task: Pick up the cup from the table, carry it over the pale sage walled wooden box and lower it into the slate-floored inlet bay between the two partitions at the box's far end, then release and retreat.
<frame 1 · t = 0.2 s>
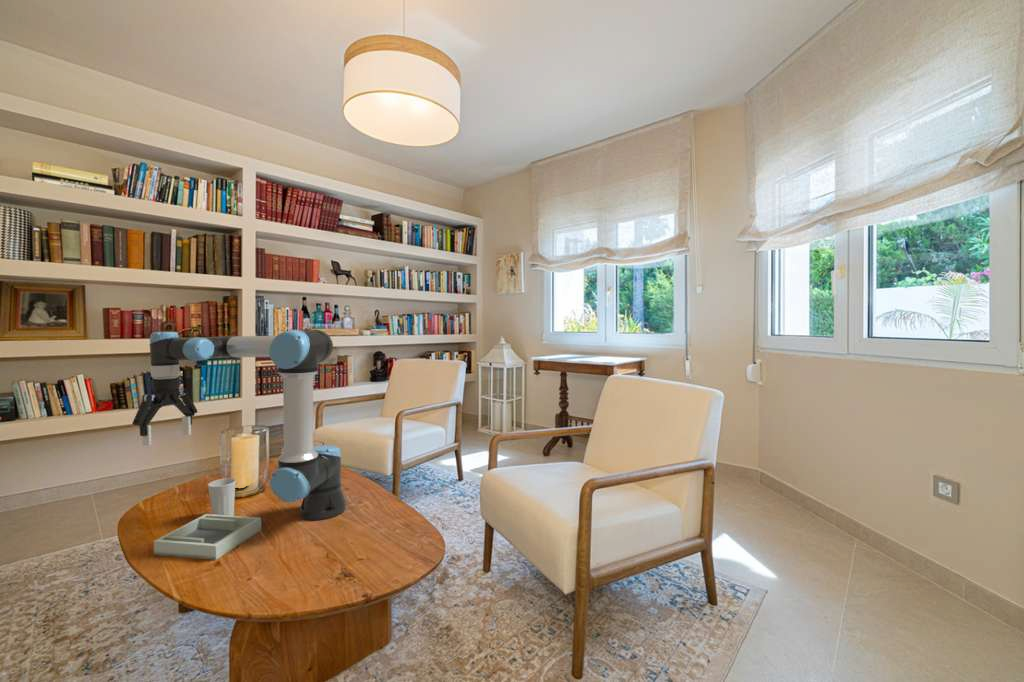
hand: (167, 439, 147), 27 cm above the table, fingers open, 13 cm apart
cup: (223, 517, 150), on the table
box: (210, 541, 133), on the table
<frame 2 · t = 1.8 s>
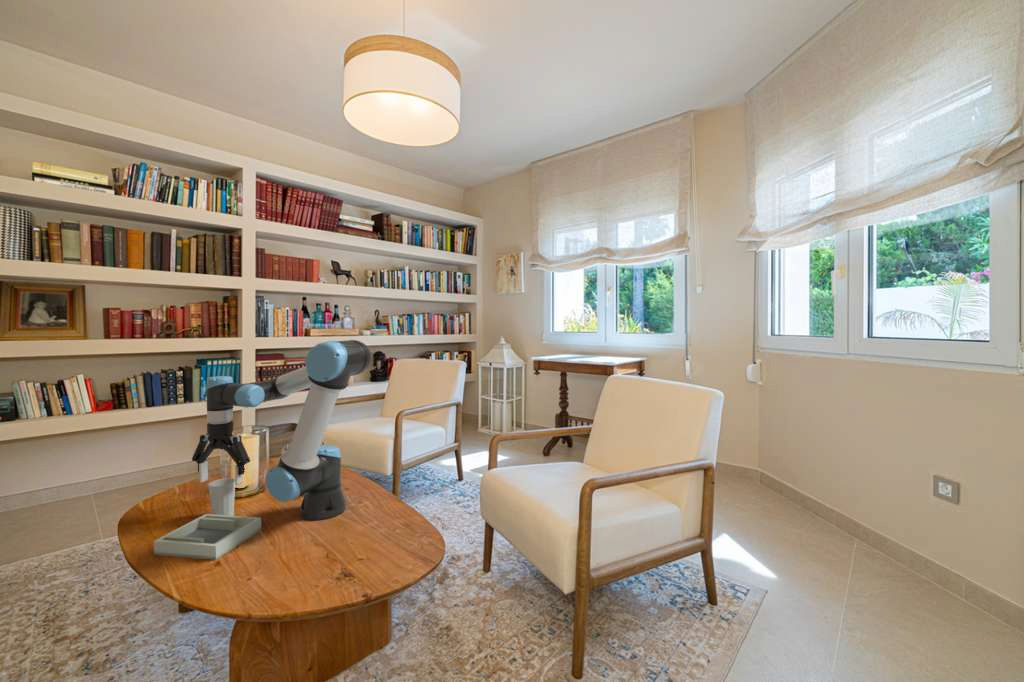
hand: (221, 482, 150), 12 cm above the table, fingers open, 13 cm apart
nothing on the table moved.
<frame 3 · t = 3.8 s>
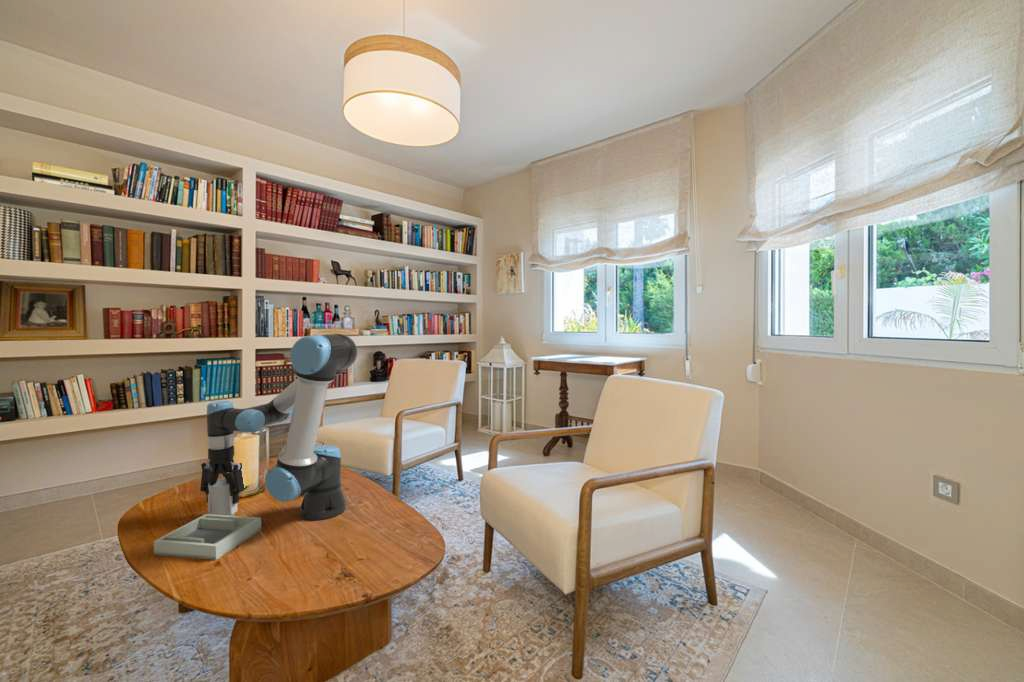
hand: (223, 511, 150), 2 cm above the table, fingers closed on cup, 7 cm apart
cup: (223, 516, 150), on the table, touching gripper
everything else where it was.
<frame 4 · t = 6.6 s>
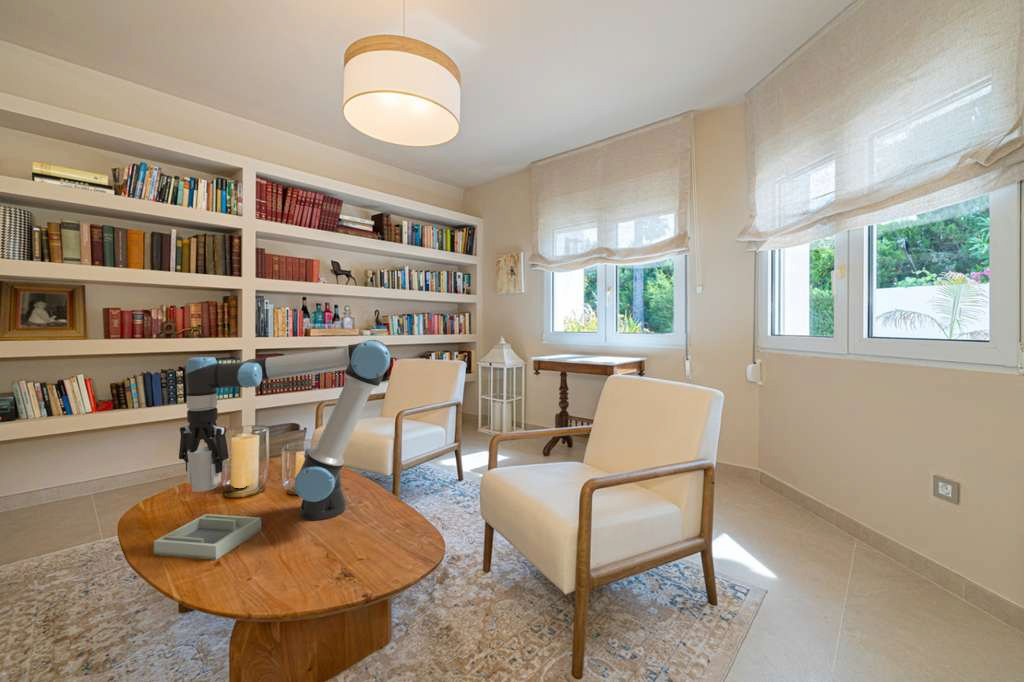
hand: (204, 482, 132), 18 cm above the table, fingers closed on cup, 7 cm apart
cup: (204, 488, 132), point 16 cm above the table, touching gripper
everything else where it was.
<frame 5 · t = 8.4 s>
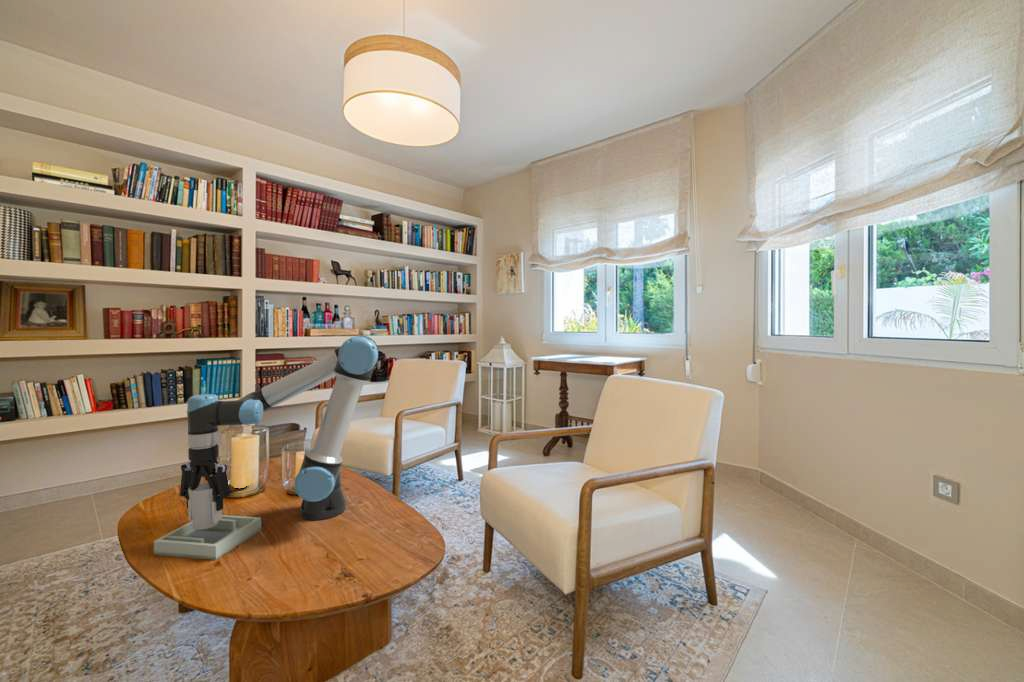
hand: (205, 519, 133), 7 cm above the table, fingers closed on cup, 7 cm apart
cup: (205, 525, 133), point 5 cm above the table, touching gripper
everything else where it was.
when the fingers open (5 cm above the table, at t = 9.8 s): cup drops 2 cm, resting on box.
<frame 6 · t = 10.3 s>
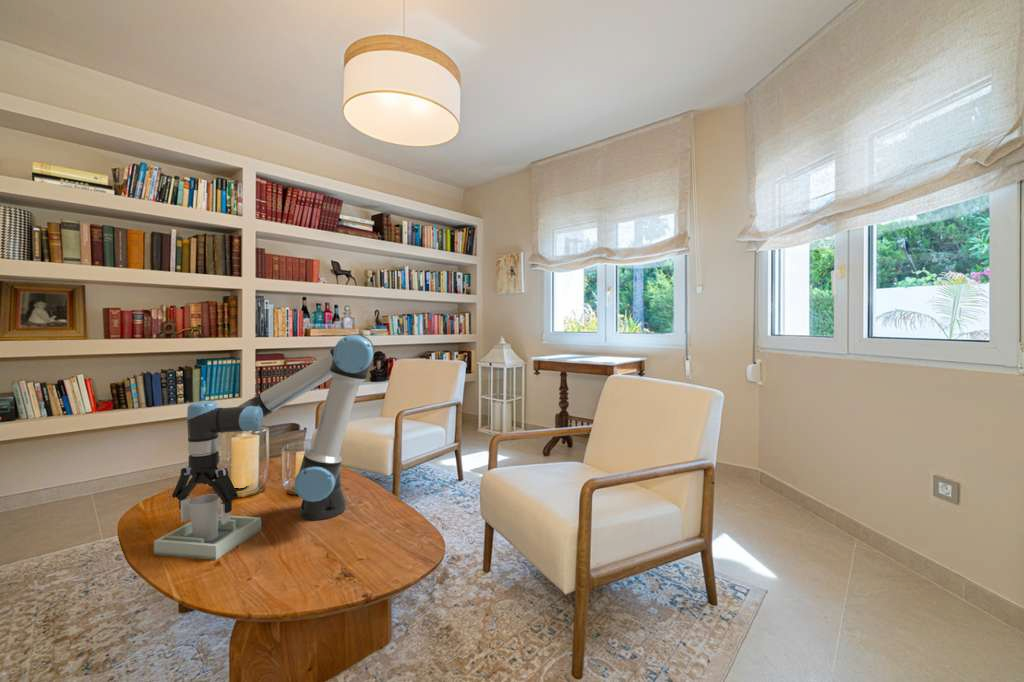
hand: (205, 521, 133), 6 cm above the table, fingers open, 13 cm apart
cup: (205, 538, 133), point 1 cm above the table, touching box
everything else where it was.
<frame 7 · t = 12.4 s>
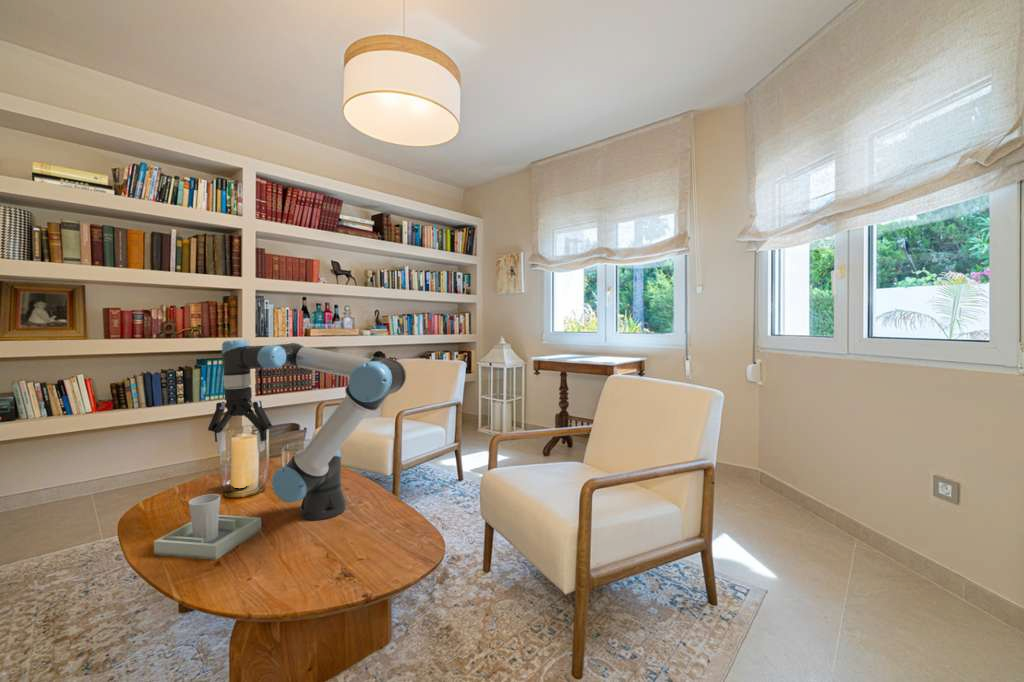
hand: (241, 451, 143), 25 cm above the table, fingers open, 13 cm apart
nothing on the table moved.
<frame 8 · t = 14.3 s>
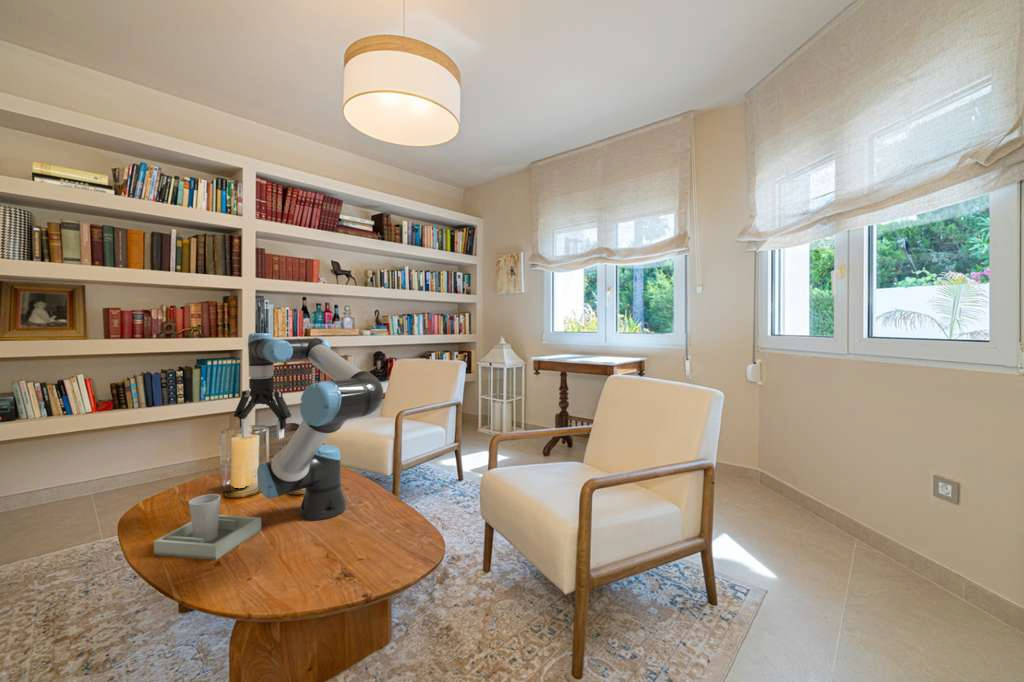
hand: (263, 437, 152), 27 cm above the table, fingers open, 13 cm apart
nothing on the table moved.
at the end: cup inside the target area on the box (0.3 cm from its centre), point 0.8 cm above the box's base; cup tilted 0°; the gripper is holding nothing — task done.
